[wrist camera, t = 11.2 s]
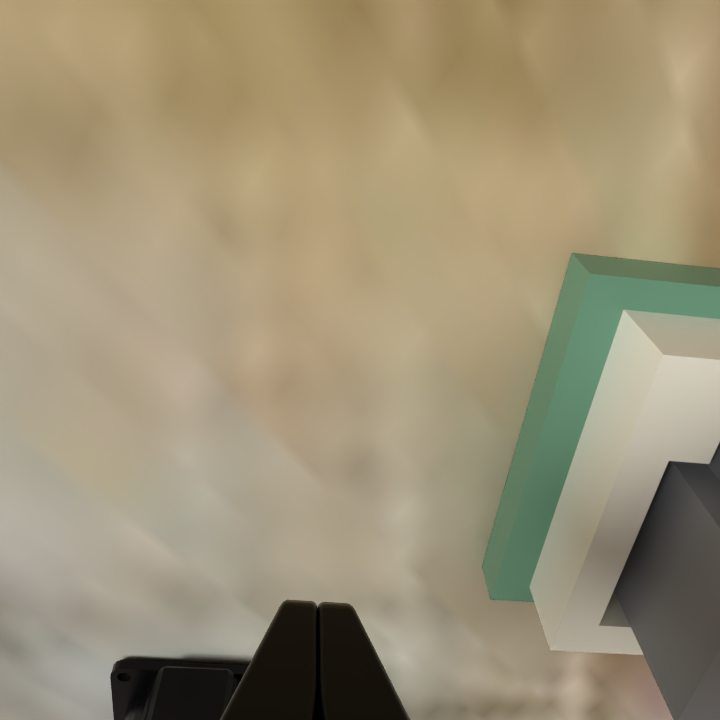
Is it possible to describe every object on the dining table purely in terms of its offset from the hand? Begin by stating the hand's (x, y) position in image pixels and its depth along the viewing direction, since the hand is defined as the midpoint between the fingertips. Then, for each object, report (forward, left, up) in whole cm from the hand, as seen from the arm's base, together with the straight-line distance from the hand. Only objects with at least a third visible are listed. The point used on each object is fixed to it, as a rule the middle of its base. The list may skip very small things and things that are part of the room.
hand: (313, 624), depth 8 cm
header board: (-5, -12, -12) cm, 18 cm away
